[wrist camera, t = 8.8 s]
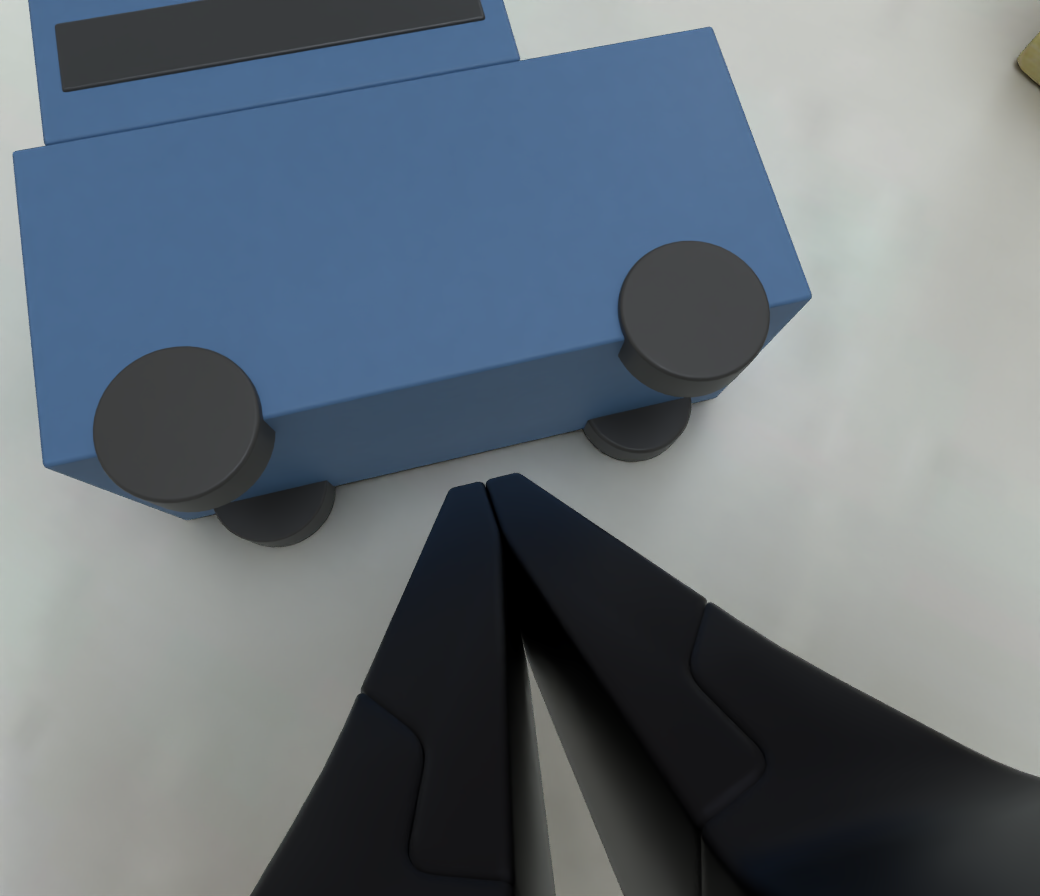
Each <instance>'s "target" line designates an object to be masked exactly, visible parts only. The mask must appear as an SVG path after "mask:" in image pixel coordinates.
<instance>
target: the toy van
mask: <svg viewBox="0 0 1040 896" xmlns="http://www.w3.org/2000/svg"><path fill="white" fill-rule="evenodd" d="M28 2H29V11H30V20H31V29H32V38H33V47H34V56H35V65H36V74H37V83H38V92H39V101H40V110H41V119H42V128H43V137H44V143H45V145H46V146H42V147H36V148H30V149H25V150H19V151H15V152H13V164H14V174H15V184H16V194H17V204H18V215H19V225H20V235H21V245H22V255H23V265H24V276H25V286H26V296H27V306H28V316H29V326H30V336H31V347H32V357H33V367H34V377H35V387H36V397H37V408H38V418H39V428H40V438H41V448H42V458H43V464H44V466H45V468H48V469H51V470H53V471H56V472H59V473H61V474H64V475H67V476H69V477H72V478H75V479H77V480H80V481H83V482H85V483H88V484H91V485H93V486H96V487H99V488H101V489H104V490H107V491H110V492H112V493H115V494H118V495H120V496H123V497H126V498H128V499H131V500H134V501H136V502H139V503H142V504H144V505H147V506H150V507H152V508H155V509H158V510H160V511H163V512H166V513H168V514H171V515H174V516H176V517H179V518H182V519H185V520H191V519H196V518H200V517H204V516H208V515H213V514H216V515H217V517H218V519H219V520H220V521H221V523H222V524H223V525H224V526H225V527H226V528H227V529H228V530H229V531H231V532H232V533H233V534H235V535H237V536H239V537H241V538H243V539H246V540H248V541H251V542H254V543H256V544H259V545H263V546H269V547H282V546H288V545H292V544H295V543H298V542H300V541H302V540H304V539H306V538H307V537H309V536H310V535H312V534H313V533H314V532H316V531H317V530H318V529H319V528H320V527H321V525H322V524H323V523H324V521H325V520H326V519H327V517H328V515H329V513H330V511H331V509H332V506H333V502H334V498H335V486H338V485H342V484H346V483H351V482H355V481H359V480H364V479H368V478H372V477H377V476H381V475H385V474H390V473H394V472H398V471H402V470H407V469H411V468H415V467H420V466H424V465H428V464H433V463H437V462H441V461H446V460H450V459H454V458H459V457H463V456H467V455H471V454H476V453H480V452H484V451H489V450H493V449H497V448H502V447H506V446H510V445H515V444H519V443H523V442H527V441H532V440H536V439H540V438H545V437H549V436H553V435H558V434H562V433H566V432H571V431H575V430H579V429H583V430H584V432H585V434H586V436H587V437H588V439H589V440H590V441H591V442H592V443H593V445H594V446H596V447H597V448H598V449H599V450H600V451H602V452H603V453H605V454H607V455H609V456H611V457H613V458H616V459H619V460H624V461H643V460H647V459H650V458H653V457H655V456H658V455H659V454H661V453H662V452H664V451H665V450H666V449H668V448H669V447H670V446H671V445H672V444H673V443H674V442H675V441H676V439H677V438H678V437H679V436H680V435H681V434H682V432H683V431H684V429H685V428H686V425H687V423H688V421H689V418H690V413H691V403H696V402H700V401H704V400H709V399H713V398H716V397H717V396H718V395H719V394H720V393H721V392H722V391H723V390H724V389H725V388H726V387H727V386H728V385H729V384H730V383H731V382H732V381H733V380H734V379H735V378H736V377H737V376H738V375H739V374H740V373H741V372H742V371H743V370H744V369H745V368H746V367H747V366H748V365H749V364H750V363H751V362H752V361H753V359H754V358H755V357H756V356H757V355H758V353H759V352H760V351H761V350H762V349H763V348H764V347H765V346H766V345H767V344H768V343H769V342H770V341H771V340H772V339H773V338H774V337H775V336H776V335H777V334H778V333H779V331H780V330H781V329H782V328H783V327H784V326H785V325H786V324H787V323H788V322H789V321H790V320H791V319H792V318H793V317H794V316H795V315H796V314H797V313H798V312H799V311H800V310H801V309H802V308H803V306H804V305H805V304H806V303H807V302H808V301H809V300H810V299H811V297H812V294H811V291H810V289H809V286H808V283H807V281H806V278H805V275H804V272H803V270H802V267H801V264H800V262H799V259H798V256H797V254H796V251H795V248H794V246H793V243H792V240H791V238H790V235H789V232H788V230H787V227H786V224H785V221H784V219H783V216H782V213H781V211H780V208H779V205H778V203H777V200H776V197H775V195H774V192H773V189H772V187H771V184H770V181H769V179H768V176H767V173H766V171H765V168H764V165H763V162H762V160H761V157H760V154H759V152H758V149H757V146H756V144H755V141H754V138H753V136H752V133H751V130H750V128H749V125H748V122H747V120H746V117H745V114H744V112H743V109H742V106H741V103H740V101H739V98H738V95H737V93H736V90H735V87H734V85H733V82H732V79H731V77H730V74H729V71H728V69H727V66H726V63H725V61H724V58H723V55H722V53H721V50H720V47H719V44H718V42H717V39H716V36H715V34H714V31H713V29H712V28H711V27H705V28H700V29H694V30H689V31H683V32H678V33H672V34H666V35H661V36H655V37H650V38H644V39H639V40H633V41H627V42H622V43H616V44H611V45H605V46H599V47H594V48H588V49H583V50H577V51H572V52H566V53H560V54H555V55H549V56H544V57H538V58H533V59H527V60H521V61H520V56H519V53H518V49H517V46H516V43H515V39H514V36H513V32H512V29H511V26H510V22H509V19H508V15H507V12H506V9H505V5H504V2H503V0H28Z"/></svg>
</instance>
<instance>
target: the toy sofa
mask: <svg viewBox="0 0 1040 896" xmlns="http://www.w3.org/2000/svg"><path fill="white" fill-rule="evenodd" d="M1017 60H1018V63H1019V66H1020V68H1021V69H1022V70H1023V71H1024V72H1025V73H1026V74H1027V75H1028V76H1029V77H1030V78H1031V79H1032V80H1033V81H1035V82H1036V83H1037V84H1039V85H1040V32H1039V33H1038V34H1037V36H1036V37H1035V38H1034V39H1033V40H1032V41H1031V42H1030V43H1029V44H1028V46H1027V47H1026V48H1025V49H1024V50H1023V51H1022V52H1021V54H1020V55H1019V57H1018V58H1017Z"/></svg>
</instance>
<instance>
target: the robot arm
mask: <svg viewBox="0 0 1040 896" xmlns="http://www.w3.org/2000/svg"><path fill="white" fill-rule="evenodd" d="M523 644H524V646H523ZM524 648H525V651H526V655H527V658H528V661H529V664H530V666H531V669H532V672H533V674H534V677H535V680H536V682H537V685H538V687H539V689H540V692H541V694H542V697H543V699H544V702H545V704H546V707H547V709H548V712H549V714H550V716H551V719H552V721H553V724H554V726H555V729H556V731H557V734H558V736H559V738H560V741H561V743H562V746H563V748H564V751H565V753H566V756H567V758H568V761H569V763H570V765H571V768H572V770H573V773H574V775H575V778H576V780H577V783H578V785H579V787H580V790H581V792H582V795H583V797H584V800H585V802H586V805H587V807H588V809H589V812H590V814H591V817H592V819H593V822H594V824H595V827H596V829H597V832H598V834H599V836H600V839H601V841H602V844H603V846H604V849H605V851H606V854H607V856H608V858H609V861H610V863H611V866H612V868H613V871H614V873H615V876H616V878H617V881H618V883H619V885H620V888H621V890H622V893H623V895H624V896H1040V777H1037V776H1034V775H1031V774H1028V773H1025V772H1021V771H1019V770H1016V769H1014V768H1011V767H1009V766H1007V765H1004V764H1002V763H999V762H997V761H994V760H992V759H990V758H988V757H986V756H984V755H982V754H980V753H978V752H976V751H974V750H972V749H970V748H968V747H966V746H964V745H962V744H960V743H958V742H956V741H954V740H952V739H950V738H949V737H947V736H945V735H943V734H941V733H939V732H937V731H935V730H934V729H932V728H930V727H928V726H926V725H924V724H922V723H920V722H918V721H917V720H915V719H913V718H911V717H909V716H907V715H905V714H903V713H901V712H900V711H898V710H896V709H894V708H892V707H890V706H888V705H886V704H884V703H883V702H881V701H879V700H877V699H875V698H873V697H871V696H869V695H868V694H866V693H864V692H862V691H860V690H858V689H856V688H854V687H852V686H851V685H849V684H847V683H845V682H843V681H841V680H839V679H837V678H835V677H834V676H832V675H830V674H828V673H826V672H825V671H823V670H821V669H819V668H817V667H816V666H814V665H812V664H810V663H809V662H807V661H805V660H803V659H801V658H800V657H798V656H796V655H794V654H793V653H791V652H789V651H787V650H785V649H784V648H782V647H780V646H779V645H777V644H775V643H774V642H772V641H771V640H769V639H767V638H766V637H764V636H763V635H761V634H760V633H758V632H756V631H755V630H753V629H752V628H750V627H748V626H747V625H745V624H744V623H742V622H741V621H739V620H737V619H736V618H734V617H733V616H731V615H730V614H728V613H727V612H725V611H724V610H722V609H721V608H720V607H718V606H717V605H715V604H714V603H711V602H710V603H707V600H706V599H705V598H704V597H703V596H701V595H700V594H698V593H697V592H695V591H694V590H692V589H691V588H689V587H688V586H686V585H685V584H683V583H682V582H680V581H679V580H677V579H676V578H674V577H673V576H671V575H670V574H668V573H667V572H666V571H664V570H663V569H661V568H660V567H658V566H657V565H655V564H654V563H652V562H651V561H649V560H648V559H646V558H645V557H643V556H642V555H640V554H639V553H637V552H636V551H634V550H633V549H631V548H630V547H628V546H627V545H625V544H624V543H622V542H621V541H619V540H618V539H616V538H615V537H614V536H612V535H611V534H609V533H608V532H606V531H605V530H603V529H602V528H600V527H599V526H597V525H596V524H594V523H593V522H591V521H590V520H588V519H587V518H585V517H584V516H582V515H581V514H579V513H578V512H576V511H575V510H573V509H572V508H570V507H569V506H567V505H566V504H564V503H563V502H562V501H560V500H559V499H557V498H556V497H554V496H553V495H551V494H550V493H548V492H547V491H545V490H544V489H542V488H541V487H539V486H538V485H536V484H535V483H533V482H532V481H530V480H529V479H527V478H526V477H524V476H523V475H521V474H519V473H513V474H509V475H504V476H500V477H496V478H492V479H489V480H488V481H487V482H486V487H485V485H484V484H483V483H481V482H475V483H471V484H467V485H462V486H458V487H454V488H451V489H450V490H449V492H448V494H447V496H446V498H445V500H444V503H443V505H442V507H441V509H440V512H439V514H438V516H437V518H436V521H435V523H434V525H433V527H432V530H431V532H430V534H429V536H428V539H427V541H426V543H425V545H424V548H423V550H422V552H421V554H420V557H419V559H418V561H417V563H416V566H415V568H414V570H413V572H412V575H411V577H410V579H409V581H408V584H407V586H406V588H405V590H404V593H403V595H402V597H401V599H400V602H399V604H398V606H397V608H396V611H395V613H394V615H393V617H392V620H391V622H390V624H389V626H388V629H387V631H386V633H385V635H384V638H383V640H382V642H381V644H380V647H379V649H378V651H377V653H376V656H375V658H374V660H373V662H372V665H371V667H370V669H369V671H368V674H367V676H366V678H365V680H364V683H363V685H362V687H361V693H360V694H359V695H358V696H357V697H356V700H355V702H354V704H353V707H352V709H351V711H350V713H349V716H348V718H347V720H346V723H345V725H344V727H343V729H342V731H341V733H340V735H339V737H338V739H337V741H336V743H335V746H334V748H333V750H332V752H331V754H330V756H329V758H328V760H327V762H326V764H325V766H324V768H323V770H322V772H321V774H320V776H319V777H318V779H317V781H316V783H315V785H314V786H313V788H312V790H311V792H310V794H309V795H308V797H307V799H306V801H305V802H304V804H303V806H302V808H301V810H300V811H299V813H298V815H297V817H296V818H295V820H294V822H293V824H292V826H291V827H290V829H289V831H288V832H287V834H286V836H285V837H284V839H283V841H282V843H281V844H280V846H279V848H278V849H277V851H276V853H275V854H274V856H273V858H272V859H271V861H270V863H269V864H268V866H267V868H266V869H265V871H264V873H263V875H262V876H261V878H260V880H259V881H258V883H257V885H256V886H255V888H254V890H253V891H252V893H251V895H250V896H556V894H555V885H554V877H553V869H552V861H551V853H550V844H549V836H548V828H547V820H546V812H545V803H544V795H543V787H542V779H541V771H540V762H539V754H538V746H537V738H536V730H535V721H534V713H533V705H532V697H531V689H530V680H529V674H528V667H527V661H526V656H525V651H524Z"/></svg>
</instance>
